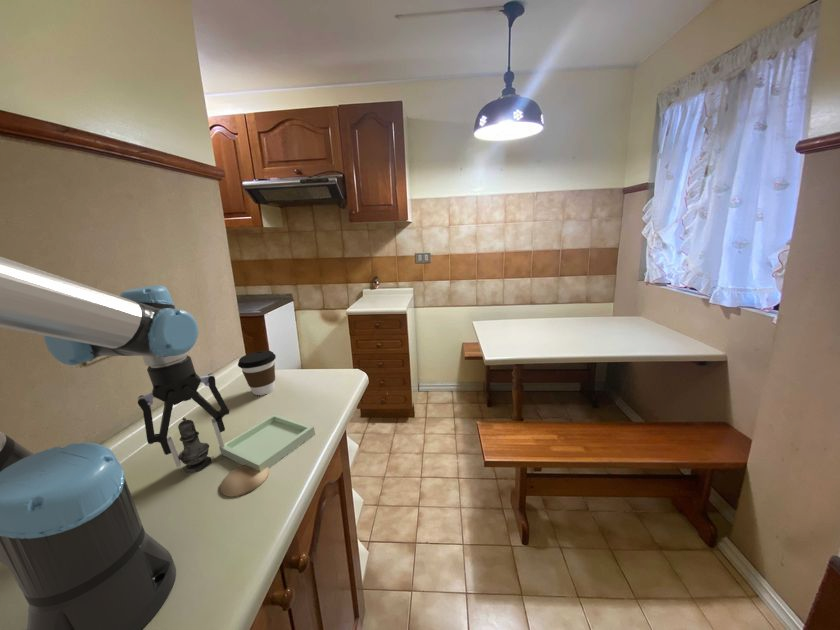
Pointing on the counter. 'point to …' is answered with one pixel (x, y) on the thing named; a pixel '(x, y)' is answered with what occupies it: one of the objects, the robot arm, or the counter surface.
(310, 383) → the counter surface
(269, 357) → the coffee cup
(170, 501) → the counter surface
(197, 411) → the counter surface
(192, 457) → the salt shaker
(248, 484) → the cork coaster
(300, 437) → the tray
